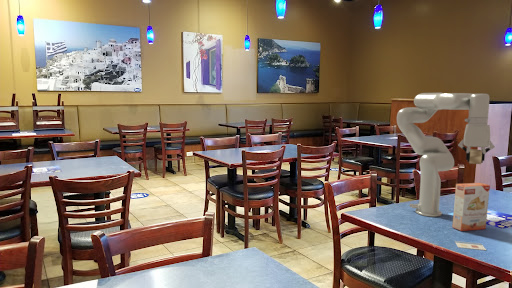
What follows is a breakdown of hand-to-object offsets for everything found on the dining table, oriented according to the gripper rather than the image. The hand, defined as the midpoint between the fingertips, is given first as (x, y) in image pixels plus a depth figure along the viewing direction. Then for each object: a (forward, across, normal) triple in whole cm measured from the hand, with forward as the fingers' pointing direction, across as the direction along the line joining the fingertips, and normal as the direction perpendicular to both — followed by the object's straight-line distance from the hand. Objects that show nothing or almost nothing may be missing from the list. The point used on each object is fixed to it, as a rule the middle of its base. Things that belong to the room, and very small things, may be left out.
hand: (474, 161), depth 174 cm
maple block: (+1, 0, 0) cm, 1 cm away
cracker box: (+32, 0, 0) cm, 32 cm away
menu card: (+31, -2, -24) cm, 39 cm away
